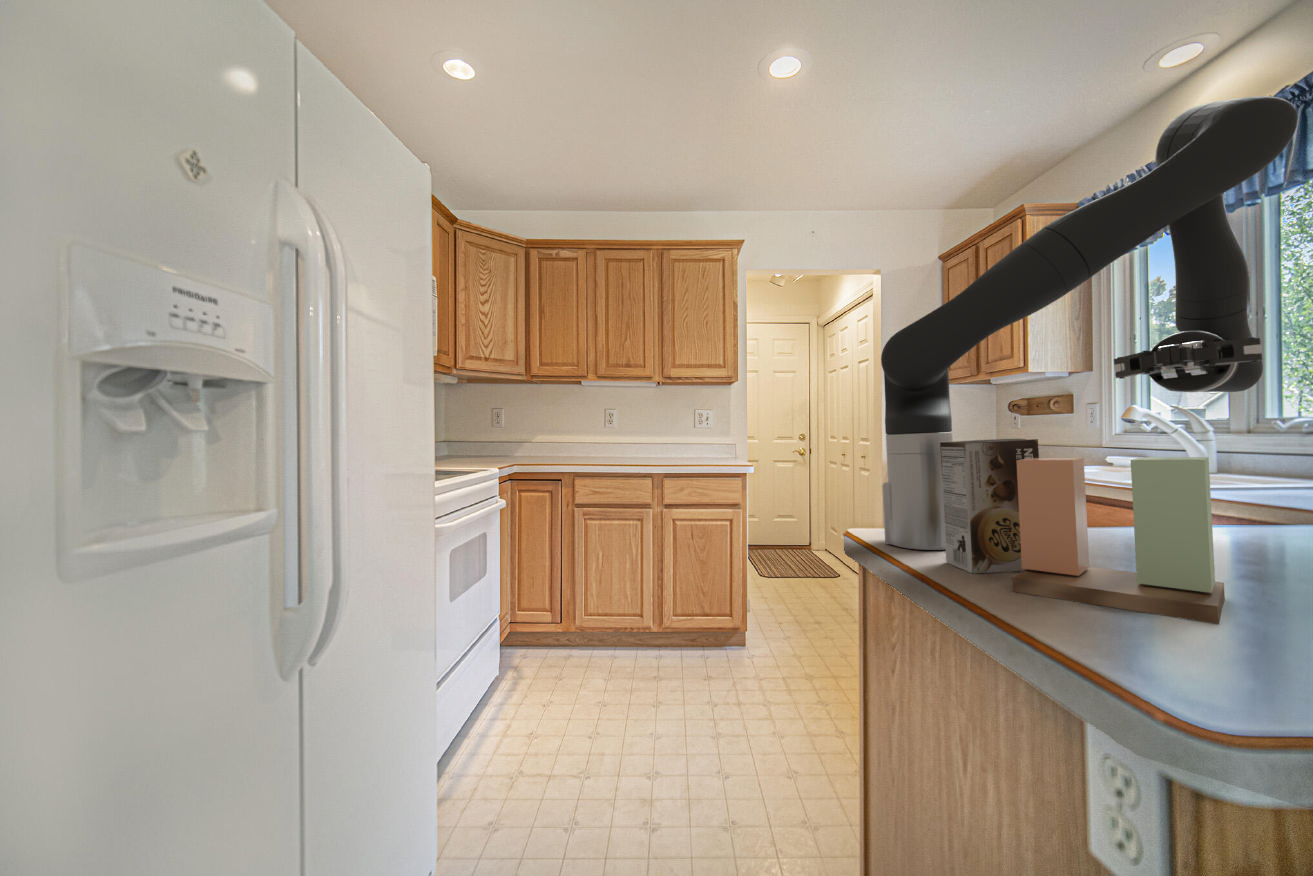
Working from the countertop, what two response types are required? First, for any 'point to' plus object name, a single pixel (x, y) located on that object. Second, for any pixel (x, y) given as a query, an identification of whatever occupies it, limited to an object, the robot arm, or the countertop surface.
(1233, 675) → the countertop surface
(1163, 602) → the brown wooden board
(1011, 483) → the coffee box
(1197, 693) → the countertop surface
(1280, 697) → the countertop surface
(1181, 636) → the countertop surface
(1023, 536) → the peach rectangular block
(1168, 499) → the pale green block
